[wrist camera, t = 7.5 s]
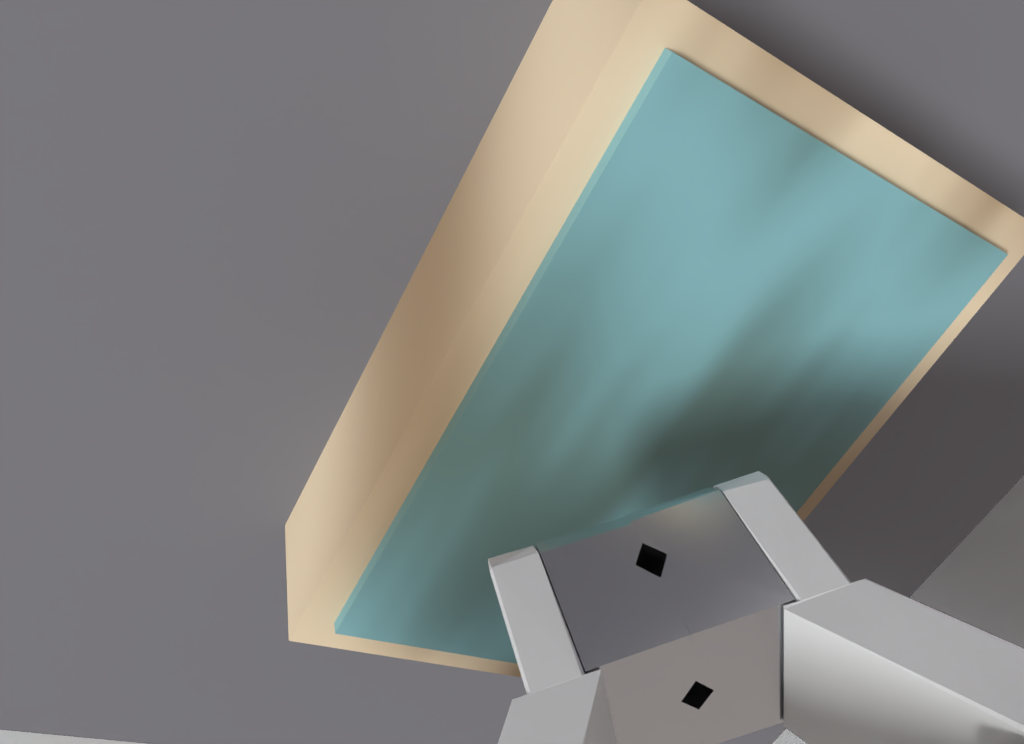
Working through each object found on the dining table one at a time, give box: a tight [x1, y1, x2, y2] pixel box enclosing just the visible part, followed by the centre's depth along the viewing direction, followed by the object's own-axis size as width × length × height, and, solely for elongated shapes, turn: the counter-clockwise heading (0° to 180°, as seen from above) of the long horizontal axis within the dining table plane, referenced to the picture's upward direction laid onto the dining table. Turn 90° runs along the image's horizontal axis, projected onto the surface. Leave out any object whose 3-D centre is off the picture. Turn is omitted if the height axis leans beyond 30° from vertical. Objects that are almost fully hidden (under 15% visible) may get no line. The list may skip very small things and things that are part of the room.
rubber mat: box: [0, 0, 1024, 744], centre depth 14 cm, size 22×24×1 cm
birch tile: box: [285, 0, 1024, 677], centre depth 13 cm, size 10×3×7 cm
